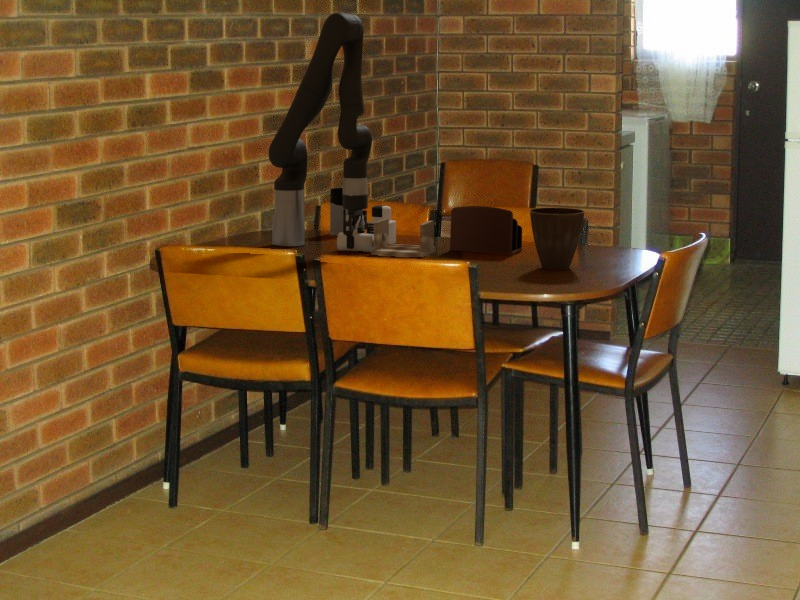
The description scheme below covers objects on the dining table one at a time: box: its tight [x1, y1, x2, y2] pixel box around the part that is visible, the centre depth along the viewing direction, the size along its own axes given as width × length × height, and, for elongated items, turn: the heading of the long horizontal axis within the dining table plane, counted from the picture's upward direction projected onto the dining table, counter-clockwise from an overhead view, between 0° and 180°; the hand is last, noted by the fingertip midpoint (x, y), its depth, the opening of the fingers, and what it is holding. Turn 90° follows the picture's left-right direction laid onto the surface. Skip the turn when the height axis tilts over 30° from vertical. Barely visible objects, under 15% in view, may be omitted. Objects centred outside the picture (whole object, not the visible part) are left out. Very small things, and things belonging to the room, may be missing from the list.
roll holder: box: [371, 219, 436, 258], centre depth 359 cm, size 15×14×10 cm
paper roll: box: [336, 232, 374, 253], centre depth 364 cm, size 11×6×6 cm, turn 72°
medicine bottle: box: [366, 204, 397, 244], centre depth 379 cm, size 7×7×12 cm
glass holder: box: [328, 187, 348, 237], centre depth 398 cm, size 9×14×15 cm, turn 40°
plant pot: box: [529, 207, 585, 271], centre depth 333 cm, size 15×15×16 cm
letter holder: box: [449, 205, 523, 256], centre depth 365 cm, size 10×20×14 cm, turn 65°
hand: (355, 246), depth 363 cm, fingers open, 8 cm apart
